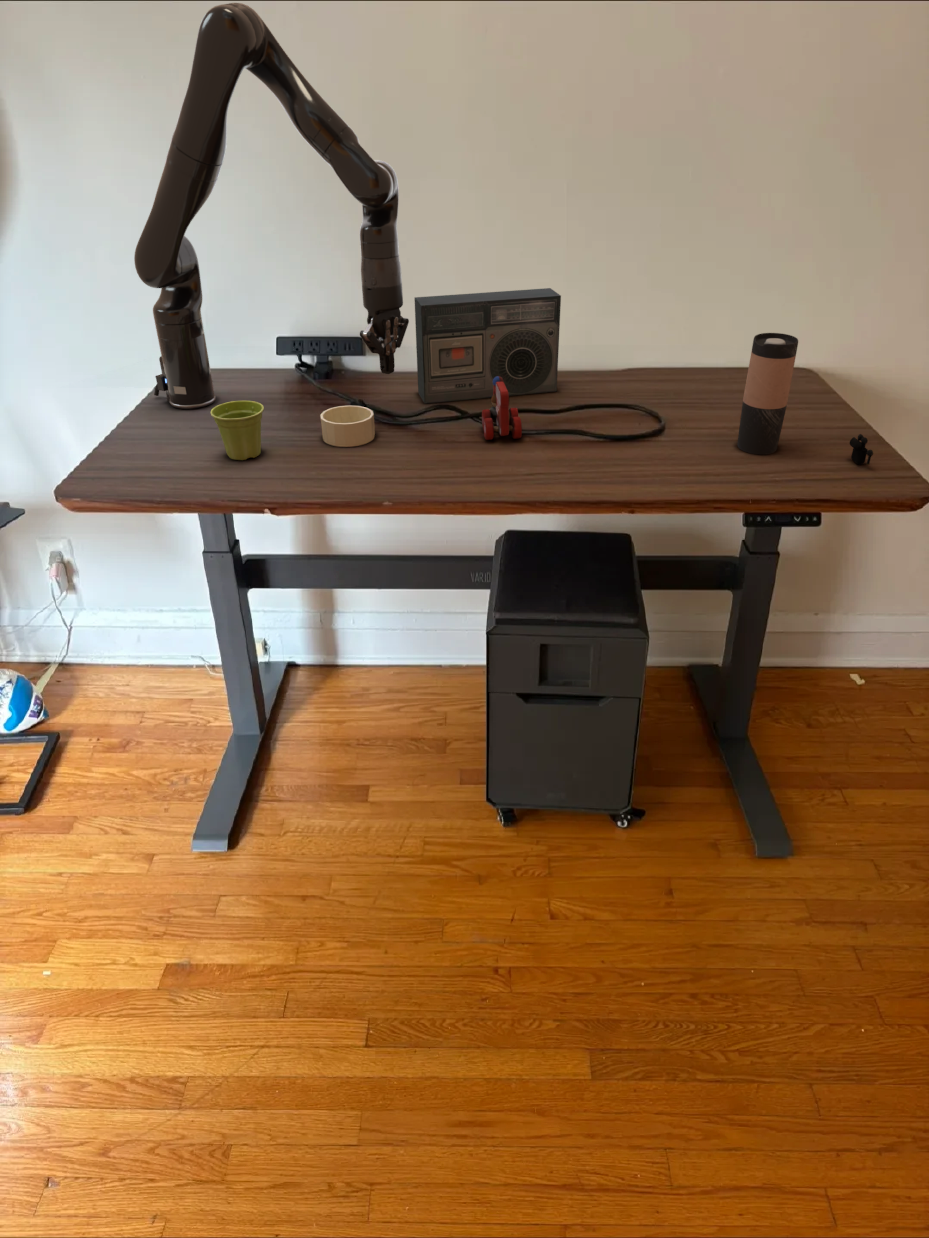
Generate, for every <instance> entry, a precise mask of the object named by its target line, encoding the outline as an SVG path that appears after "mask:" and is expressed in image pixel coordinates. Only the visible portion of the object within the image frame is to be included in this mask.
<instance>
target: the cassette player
mask: <svg viewBox="0 0 929 1238" xmlns="http://www.w3.org/2000/svg"><path fill="white" fill-rule="evenodd" d="M561 303H562V295H561V294H559V293H558V292H556V291H555V290H554V289H552V288H550V287H547V288H546V287H545V288H531V289H519V290H518V289H517V290H516V289H515V290H502V291H489V292H488V291H487V292H476V293H475V292H474V293H459V294H457V293H456V294H445V295H431V296H417V297H416V296H415V297H414V321H415V346H416V347H415V349H416V369H417V370H416V371H417V372H416V373H417V393H418V395H419V397H420V398H421V400H422V402H423V403H424V405H425V404H436V403H448V402H459V401H468V400H470V401H471V400H479V399H491V398H492V396H493V386H494V385H493V379H494V378H495V377H496V376H500V377H502V379H503V382H504V384H505V386H506V388H507V390H508V393H509V397H512V396H523V395H534V394H545V393H546V394H547V393H554V392H555V393H556V392H557V390H558V389H557V388H558V369H559V348H560V325H561Z"/></svg>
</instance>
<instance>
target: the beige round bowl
mask: <svg viewBox="0 0 929 1238" xmlns="http://www.w3.org/2000/svg"><path fill="white" fill-rule="evenodd" d="M319 417H320V427H321V437H322V441H323V442H324V443H325V444H327V445H330V446H334V447H341V448H349V447H351V448H353V447H358V446H363V445H366V444H369V443H370V442H372V441H373V440H374V439H375V436H376V435H375V434H376V427H375V414H374V410H373V409H370V408H368V407H364V406H361V405H339V406H334V407H330V408H328V409H326V410H323V411H322V412H321V414H320V415H319Z"/></svg>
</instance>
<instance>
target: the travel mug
mask: <svg viewBox="0 0 929 1238" xmlns="http://www.w3.org/2000/svg"><path fill="white" fill-rule="evenodd" d="M798 346H799V338H798V337H796V336H793V335H791V334H786V333H780V332H763V333H762V332H761V333H758V334H756V335H754V337H753V340H752V345H751V352H750V358H749V363H748V369H747V375H746V381H745V385H744V386H745V387H744V392H743V397H742V405H741V413H740V420H739V428H738V435H737V445H736V446H737V448H738V449H739V450H740V451H742V452H745V453H748V454H752V455H753V454H754V455H770V454H773V453H775V452H777V449H778V446H779V442H780V437H781V432H782V429H783V424H784V419H785V415H786V410H787V407H788V403H789V396H790V391H791V385H792V379H793V374H794V369H795V363H796V357H797V353H798V352H797V351H798Z"/></svg>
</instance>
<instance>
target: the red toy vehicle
mask: <svg viewBox="0 0 929 1238" xmlns="http://www.w3.org/2000/svg"><path fill="white" fill-rule="evenodd" d="M493 385H494V386H493V396H492V397H491V398H490V403H491V405H492V406H491V407H490V408H486V409H485V408H484V409H482V410H481V425H482V430H483V436H484V439H485V440H486V441H492V440H494V437H495V433H496V432H498V435H500V436H501V437H505V436H506V437H507V436H509V434H510V431H511V437H512V439H514V440H515V439H516V440H518V439H519V440H520V439H521V438H522V434H523V425H522V419H521V417H520V416H519V410H518V408H517V407H509V405H510V396H509V393H508V390H507V388H506V386H505V384H504V382H503V379H502V377H500V376H496V377H495V378H494V379H493ZM494 423H495V425H494Z"/></svg>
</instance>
